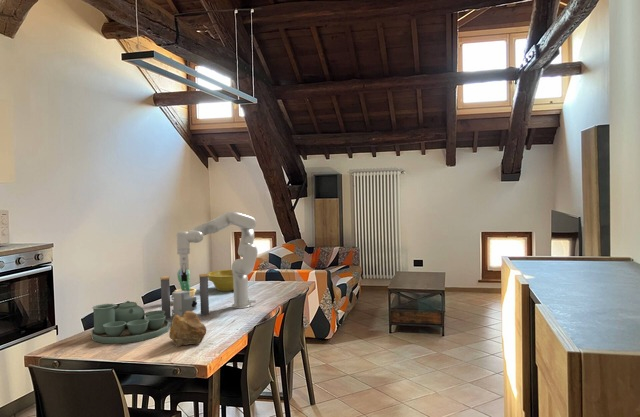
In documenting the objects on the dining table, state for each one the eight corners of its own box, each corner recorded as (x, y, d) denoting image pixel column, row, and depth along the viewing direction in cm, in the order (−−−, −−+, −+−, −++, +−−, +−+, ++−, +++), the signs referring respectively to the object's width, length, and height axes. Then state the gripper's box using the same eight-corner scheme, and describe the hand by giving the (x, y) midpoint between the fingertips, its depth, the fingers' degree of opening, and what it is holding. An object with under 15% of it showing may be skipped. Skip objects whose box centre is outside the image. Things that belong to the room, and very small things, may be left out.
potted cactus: (169, 303, 329) (168, 267, 329) (183, 298, 344) (182, 264, 343) (187, 304, 324) (186, 268, 323) (201, 299, 338) (200, 265, 337)
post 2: (208, 312, 298) (207, 273, 297) (209, 314, 293) (208, 274, 292) (200, 313, 296) (199, 274, 296) (200, 315, 291) (199, 275, 291)
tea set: (119, 349, 230) (118, 315, 230) (76, 337, 253) (75, 306, 253) (185, 329, 263) (184, 299, 262) (141, 320, 286) (140, 293, 285)
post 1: (170, 316, 291) (169, 276, 291) (170, 318, 286) (169, 277, 286) (162, 317, 290) (160, 277, 289) (161, 319, 285) (160, 278, 284)
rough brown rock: (197, 352, 224) (199, 320, 224) (163, 348, 226) (165, 317, 226) (213, 338, 247) (214, 310, 247) (182, 336, 249) (184, 307, 249)
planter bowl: (244, 293, 358) (243, 275, 357) (202, 294, 358) (201, 276, 358) (251, 285, 390) (250, 269, 390) (212, 286, 390) (211, 270, 390)
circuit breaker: (193, 318, 286) (192, 293, 286) (172, 317, 289) (171, 293, 289) (199, 314, 294) (198, 290, 293) (178, 314, 296) (177, 290, 296)
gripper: (190, 252, 284) (190, 282, 285) (189, 250, 299) (190, 278, 299) (177, 253, 282) (178, 283, 282) (177, 250, 296) (177, 279, 297)
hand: (184, 281), depth 291 cm, fingers closed
